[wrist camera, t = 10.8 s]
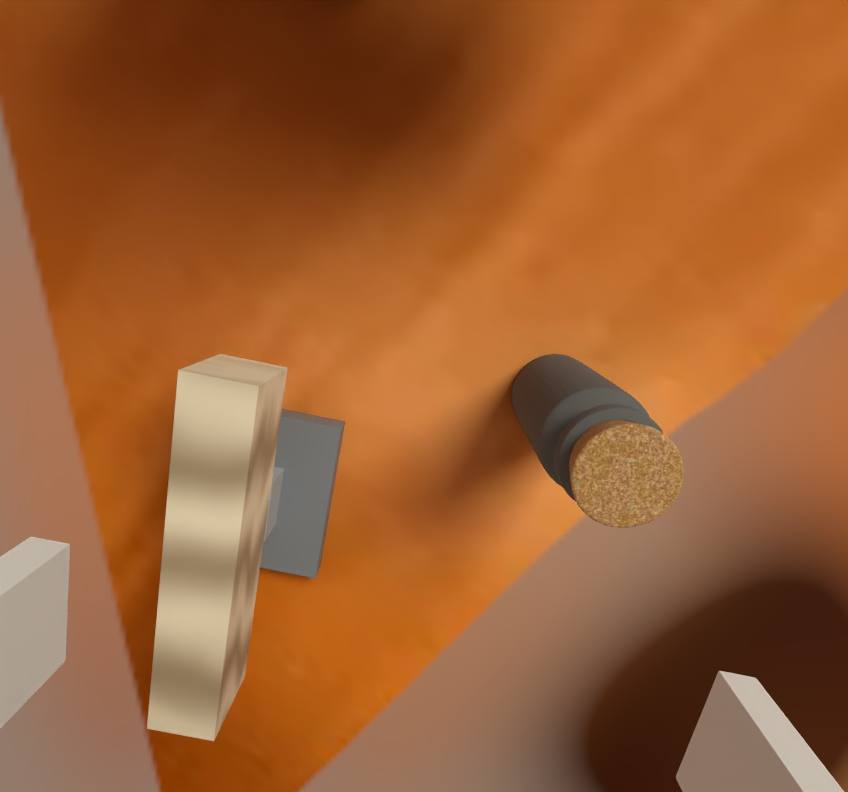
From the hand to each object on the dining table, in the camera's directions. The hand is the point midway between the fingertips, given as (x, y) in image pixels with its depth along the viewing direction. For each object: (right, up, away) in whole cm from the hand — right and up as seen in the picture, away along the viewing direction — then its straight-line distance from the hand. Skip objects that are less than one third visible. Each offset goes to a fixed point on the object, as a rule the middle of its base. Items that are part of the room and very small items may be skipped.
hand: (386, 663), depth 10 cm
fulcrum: (-11, -1, +28) cm, 30 cm away
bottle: (+10, +6, +26) cm, 28 cm away
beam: (-11, -3, +22) cm, 25 cm away
